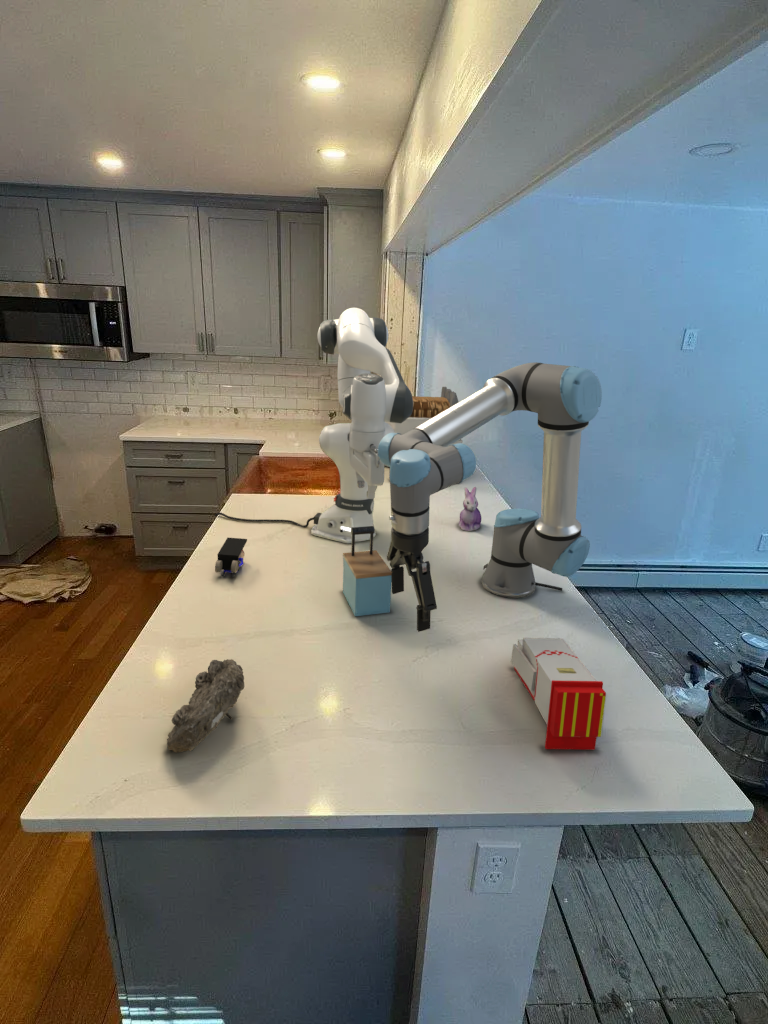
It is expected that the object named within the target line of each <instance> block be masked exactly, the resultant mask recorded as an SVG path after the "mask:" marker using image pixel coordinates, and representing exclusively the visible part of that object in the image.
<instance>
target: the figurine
mask: <svg viewBox="0 0 768 1024" xmlns="http://www.w3.org/2000/svg"><path fill="white" fill-rule="evenodd" d="M476 494H477V487H476V486H474V487H473V488H472V489H471V491H470V490H469V488H467V487H464V499H463V501H462V506H463V509H462V510H461V511H460V513H459V521H458V527H459V528H460V529H461V530H463V531H469V532H472V531H476V530H478V529H479V528H481V523H482V514H481V512H480V510H479V508H478V507H479V501H478V498H477V497H476Z"/></svg>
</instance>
